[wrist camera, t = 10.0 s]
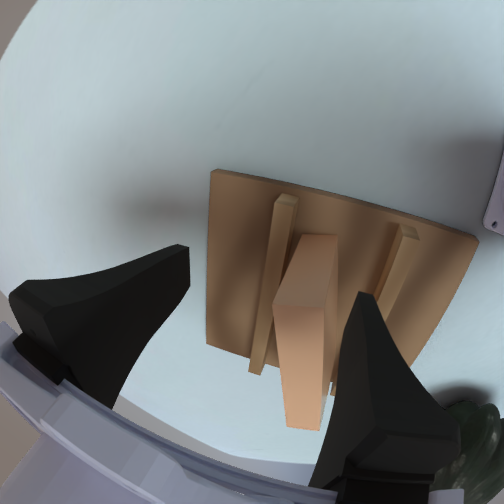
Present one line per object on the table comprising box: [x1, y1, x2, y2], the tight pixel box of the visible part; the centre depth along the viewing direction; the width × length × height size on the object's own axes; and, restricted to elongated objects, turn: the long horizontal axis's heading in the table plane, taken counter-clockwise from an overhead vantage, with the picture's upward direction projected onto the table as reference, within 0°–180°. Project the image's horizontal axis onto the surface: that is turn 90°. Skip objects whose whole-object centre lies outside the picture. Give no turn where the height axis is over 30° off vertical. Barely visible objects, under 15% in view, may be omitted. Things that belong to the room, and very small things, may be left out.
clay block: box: [272, 234, 338, 431], centre depth 20 cm, size 2×12×8 cm, turn 8°
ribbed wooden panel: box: [206, 169, 479, 396], centre depth 23 cm, size 20×18×3 cm
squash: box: [429, 401, 504, 504], centre depth 19 cm, size 14×15×15 cm
